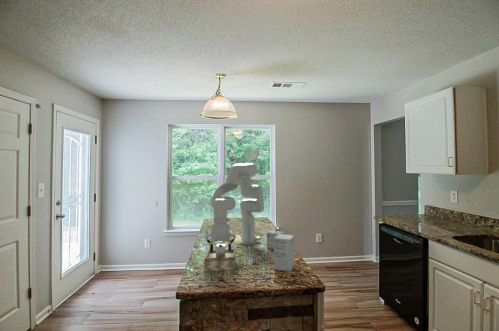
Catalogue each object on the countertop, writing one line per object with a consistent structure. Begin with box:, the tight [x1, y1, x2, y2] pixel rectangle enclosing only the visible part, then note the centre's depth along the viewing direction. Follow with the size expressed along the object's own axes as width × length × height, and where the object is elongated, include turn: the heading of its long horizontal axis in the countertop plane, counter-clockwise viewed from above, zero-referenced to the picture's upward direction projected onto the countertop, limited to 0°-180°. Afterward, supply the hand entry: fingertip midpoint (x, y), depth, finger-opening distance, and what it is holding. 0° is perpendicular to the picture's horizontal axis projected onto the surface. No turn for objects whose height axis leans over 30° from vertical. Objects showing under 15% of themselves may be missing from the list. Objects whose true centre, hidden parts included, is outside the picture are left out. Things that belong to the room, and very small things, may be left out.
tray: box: [204, 248, 236, 272], centre depth 154 cm, size 16×16×6 cm
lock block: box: [215, 243, 227, 258], centre depth 154 cm, size 5×7×7 cm
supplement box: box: [273, 234, 296, 272], centre depth 150 cm, size 10×9×17 cm
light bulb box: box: [266, 230, 285, 250], centre depth 186 cm, size 11×7×11 cm, turn 65°
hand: (220, 251), depth 154 cm, fingers open, 9 cm apart
